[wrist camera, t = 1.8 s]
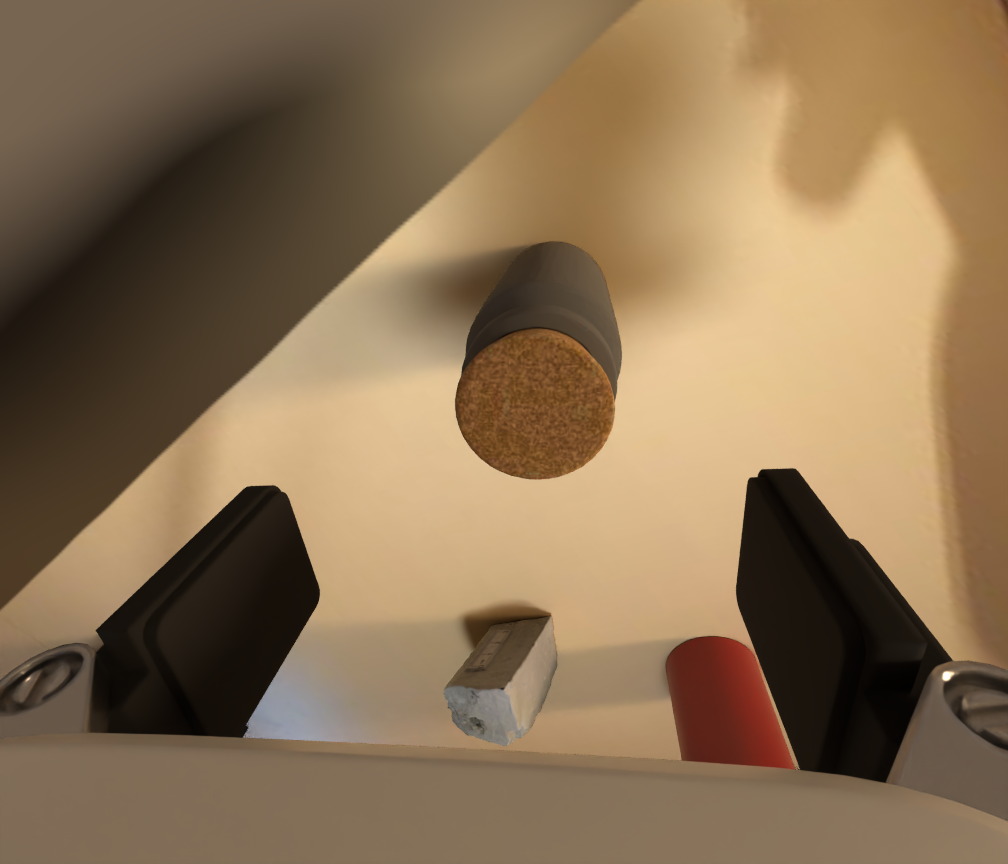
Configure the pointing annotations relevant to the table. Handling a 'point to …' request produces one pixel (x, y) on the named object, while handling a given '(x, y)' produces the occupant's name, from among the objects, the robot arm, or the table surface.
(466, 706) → the mineral specimen
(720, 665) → the thermos
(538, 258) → the bottle
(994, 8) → the table surface
